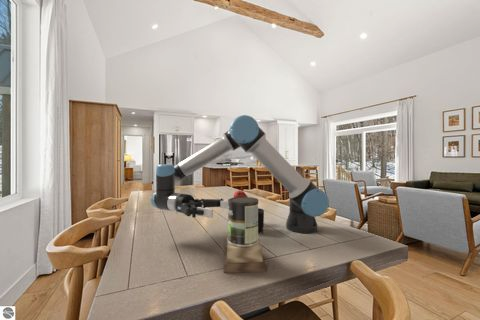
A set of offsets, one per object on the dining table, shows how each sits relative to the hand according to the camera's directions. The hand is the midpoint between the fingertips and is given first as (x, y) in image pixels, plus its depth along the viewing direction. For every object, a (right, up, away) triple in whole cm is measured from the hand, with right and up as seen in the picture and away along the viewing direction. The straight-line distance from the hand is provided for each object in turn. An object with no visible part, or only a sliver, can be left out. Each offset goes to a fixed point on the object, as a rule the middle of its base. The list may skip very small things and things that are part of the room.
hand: (224, 209), depth 77 cm
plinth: (+7, -17, -4) cm, 19 cm away
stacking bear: (+6, -17, +40) cm, 43 cm away
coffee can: (+7, -10, -4) cm, 13 cm away
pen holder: (+12, -17, +28) cm, 35 cm away
